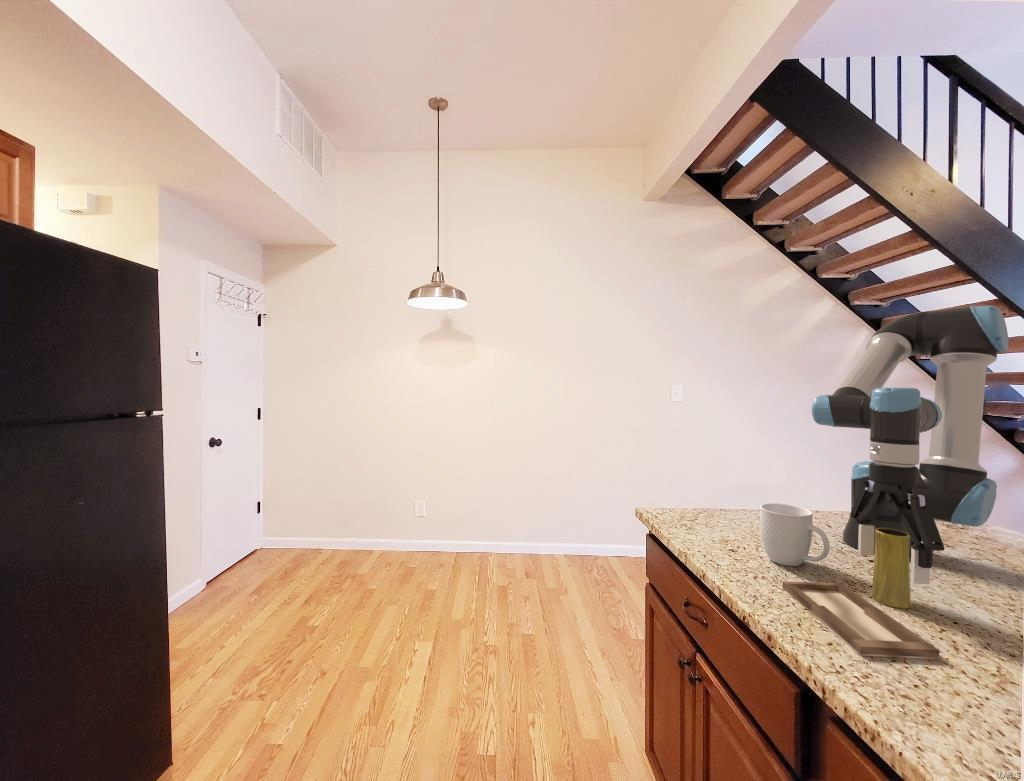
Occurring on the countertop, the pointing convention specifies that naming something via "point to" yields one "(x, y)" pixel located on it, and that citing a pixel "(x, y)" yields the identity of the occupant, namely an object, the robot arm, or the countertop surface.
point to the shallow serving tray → (859, 621)
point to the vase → (891, 568)
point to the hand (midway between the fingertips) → (890, 568)
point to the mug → (789, 534)
